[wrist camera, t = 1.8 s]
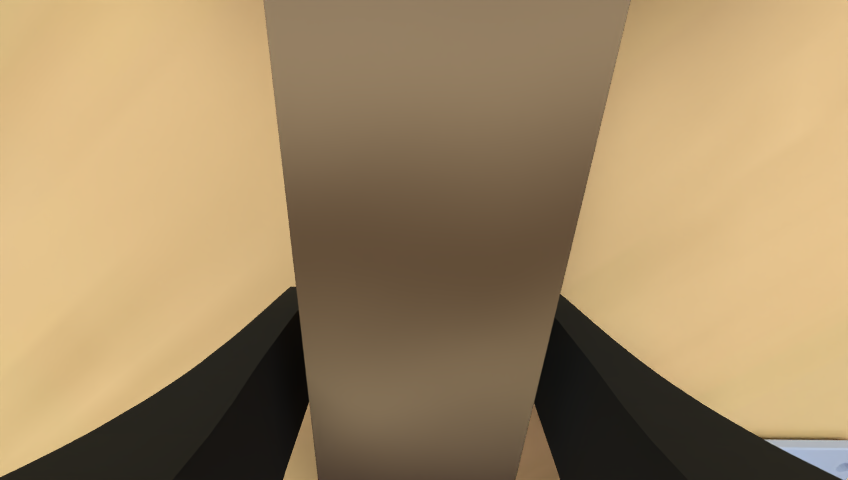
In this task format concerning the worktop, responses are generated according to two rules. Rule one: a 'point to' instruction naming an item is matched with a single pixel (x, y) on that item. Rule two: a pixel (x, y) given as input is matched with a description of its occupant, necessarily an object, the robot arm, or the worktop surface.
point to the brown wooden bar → (433, 215)
